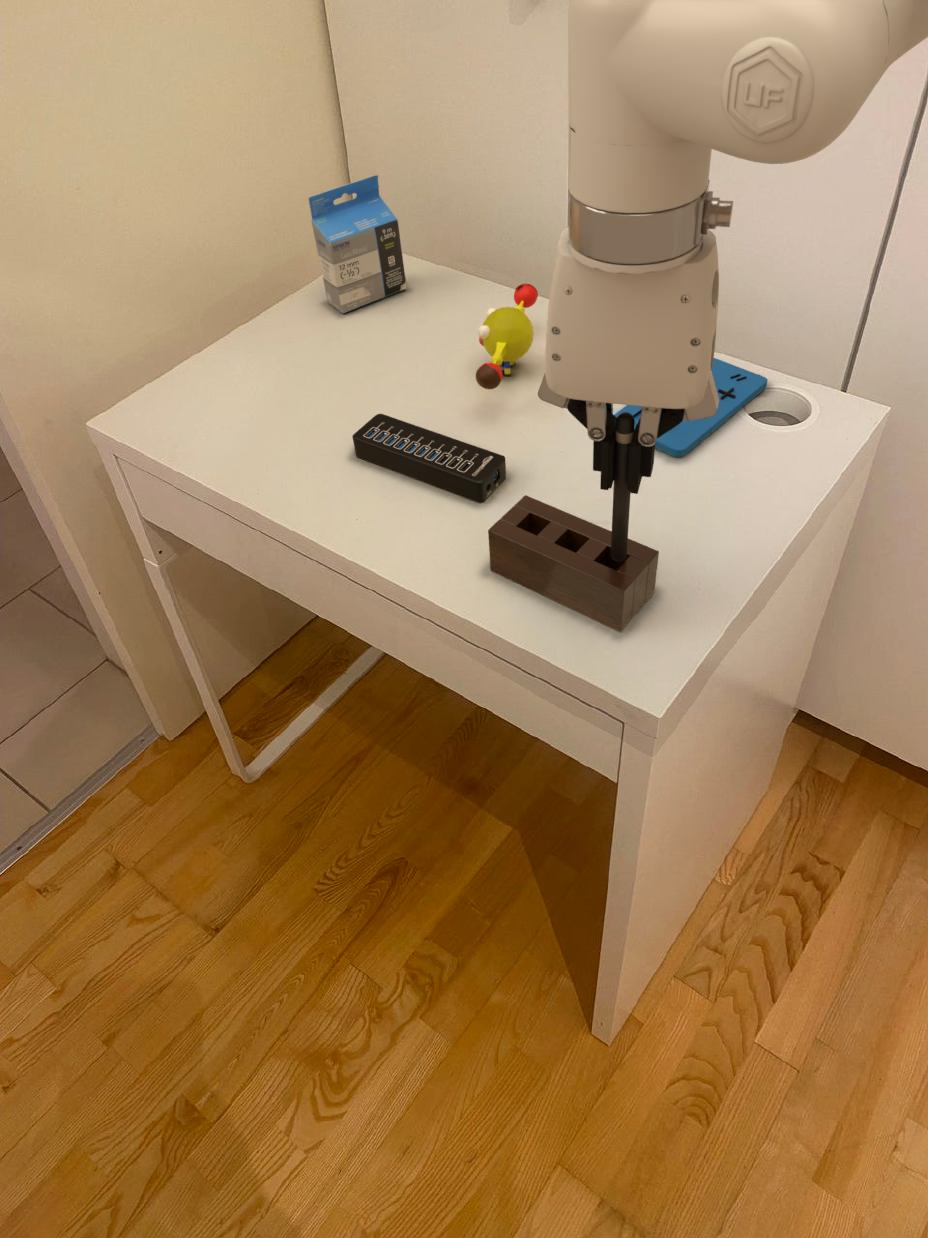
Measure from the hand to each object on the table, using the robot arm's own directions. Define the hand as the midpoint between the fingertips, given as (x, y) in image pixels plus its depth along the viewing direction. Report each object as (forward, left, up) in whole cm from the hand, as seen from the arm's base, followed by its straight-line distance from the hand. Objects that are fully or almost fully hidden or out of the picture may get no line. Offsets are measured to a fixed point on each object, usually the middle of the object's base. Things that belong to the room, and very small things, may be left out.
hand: (622, 478), depth 67 cm
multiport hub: (+20, -13, -12) cm, 27 cm away
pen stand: (+4, -1, -12) cm, 13 cm away
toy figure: (+17, -30, -12) cm, 37 cm away
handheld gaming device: (-2, -27, -12) cm, 30 cm away
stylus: (0, 0, -8) cm, 8 cm away
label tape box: (+37, -42, -12) cm, 58 cm away
